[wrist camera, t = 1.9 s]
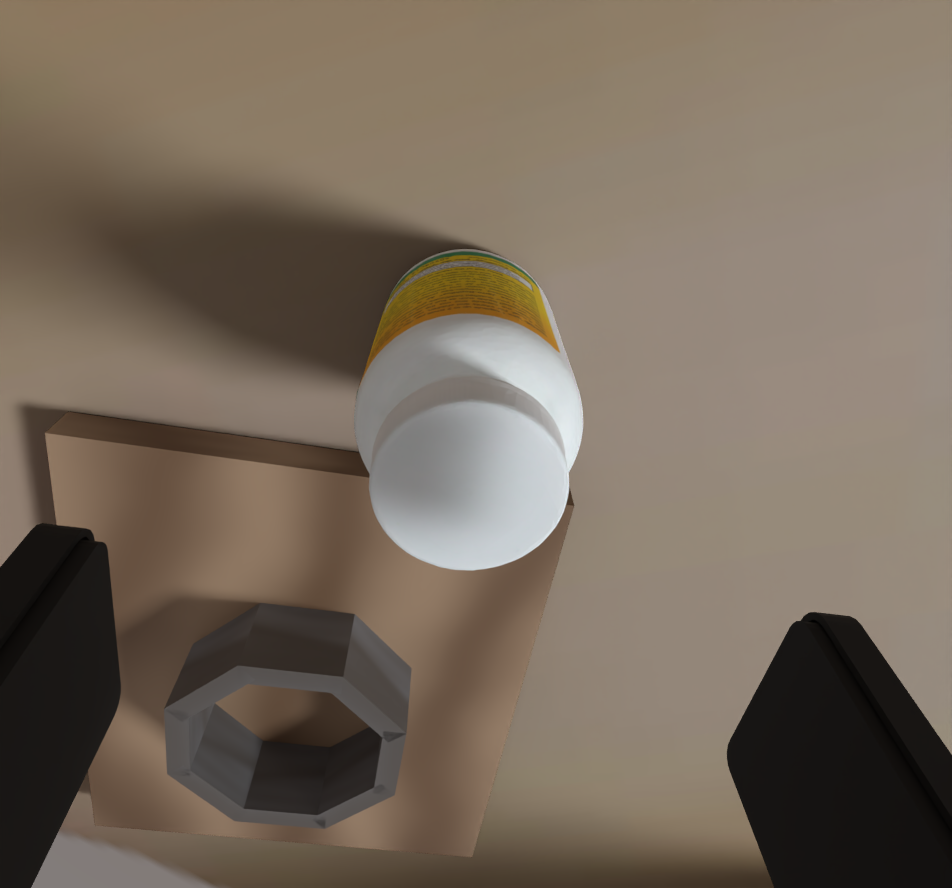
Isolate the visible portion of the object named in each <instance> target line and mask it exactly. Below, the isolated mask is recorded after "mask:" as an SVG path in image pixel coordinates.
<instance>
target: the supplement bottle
mask: <svg viewBox="0 0 952 888" xmlns="http://www.w3.org/2000/svg"><path fill="white" fill-rule="evenodd" d="M354 428H355V437H356V441H357V446H358V449H359V452H360V455H361V458H362V460H363V462H364V464H365V466H366V468H367V470H368V472H369V474H370V476H369V492H370V498H371V503H372V507H373V510H374V513H375V516H376V518H377V520H378V522H379V523H380V525H381V527H382V528H383V530H384V531H385V532H386V534H387V535H388V536H389V537H390V538H391V539H392V540H393V541H394V542H395V543H396V544H397V545H398V546H399V547H400V548H402V549H403V550H404V551H405V552H407V553H408V554H410V555H412V556H413V557H415V558H417V559H419V560H422V561H424V562H427V563H429V564H432V565H435V566H438V567H442V568H447V569H452V570H472V571H473V570H480V569H488V568H493V567H497V566H501V565H504V564H507V563H509V562H512V561H515V560H517V559H519V558H521V557H523V556H524V555H526V554H528V553H529V552H531V551H532V550H534V549H535V548H536V547H538V546H539V545H540V544H541V543H542V542H543V541H544V540H545V539H546V538H547V537H548V536H549V535H550V534H551V532H552V531H553V530H554V529H555V527H556V526H557V524H558V522H559V521H560V519H561V517H562V514H563V512H564V509H565V506H566V503H567V499H568V493H569V474H568V473H569V471H570V469H571V467H572V465H573V463H574V461H575V459H576V456H577V453H578V450H579V447H580V443H581V438H582V432H583V409H582V402H581V397H580V393H579V390H578V386H577V383H576V380H575V377H574V374H573V371H572V368H571V366H570V363H569V360H568V357H567V354H566V351H565V349H564V346H563V343H562V340H561V337H560V334H559V331H558V328H557V325H556V322H555V319H554V315H553V312H552V310H551V308H550V305H549V303H548V301H547V299H546V296H545V294H544V293H543V291H542V289H541V288H540V286H539V285H538V284H537V283H536V281H535V280H534V279H533V278H532V277H531V276H530V275H529V274H528V273H527V272H526V271H525V270H524V269H523V268H521V267H520V266H519V265H517V264H515V263H514V262H512V261H510V260H508V259H506V258H504V257H501V256H498V255H496V254H493V253H490V252H486V251H481V250H475V249H457V250H450V251H446V252H442V253H438V254H436V255H433V256H430V257H428V258H426V259H424V260H423V261H421V262H419V263H418V264H416V265H415V266H413V267H412V268H411V269H410V270H409V271H407V272H406V273H405V274H404V275H403V276H402V278H401V279H400V280H399V282H398V283H397V284H396V286H395V287H394V289H393V291H392V292H391V294H390V296H389V299H388V301H387V303H386V306H385V308H384V311H383V314H382V317H381V321H380V324H379V327H378V330H377V333H376V336H375V339H374V342H373V345H372V348H371V352H370V355H369V358H368V361H367V365H366V368H365V371H364V374H363V377H362V379H361V382H360V385H359V388H358V391H357V396H356V404H355V413H354Z"/></svg>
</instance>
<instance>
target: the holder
mask: <svg viewBox="0 0 952 888" xmlns="http://www.w3.org/2000/svg"><path fill="white" fill-rule="evenodd" d="M45 438H46V446H47V454H48V461H49V469H50V477H51V485H52V493H53V501H54V509H55V516H56V524H57V525H61V526H70V527H78V528H87V529H90V530H91V531H92V533H93V535H94V539H95V541H99V542H104V543H105V544H106V545H107V549H108V557H109V567H110V578H111V588H112V598H113V608H114V619H115V629H116V639H117V649H118V660H119V670H120V680H121V694H120V700H119V705H118V708H117V711H116V713H115V716H114V718H113V720H112V722H111V724H110V726H109V728H108V730H107V732H106V735H105V737H104V739H103V741H102V743H101V745H100V747H99V749H98V751H97V753H96V755H95V757H94V759H93V761H92V763H91V765H90V767H89V769H88V775H89V783H90V791H91V799H92V807H93V815H94V823H95V825H96V826H108V827H119V828H131V829H143V830H155V831H167V832H178V833H190V834H202V835H214V836H226V837H238V838H249V839H261V840H273V841H285V842H297V843H308V844H320V845H332V846H344V847H356V848H368V849H379V850H391V851H403V852H415V853H427V854H439V855H450V856H462V857H472V856H473V852H474V849H475V845H476V842H477V839H478V835H479V832H480V828H481V825H482V821H483V818H484V814H485V811H486V808H487V804H488V801H489V797H490V794H491V790H492V787H493V784H494V780H495V777H496V773H497V770H498V766H499V763H500V759H501V756H502V753H503V749H504V746H505V742H506V739H507V735H508V732H509V728H510V725H511V722H512V718H513V715H514V711H515V708H516V704H517V701H518V697H519V694H520V691H521V687H522V684H523V680H524V677H525V673H526V670H527V666H528V663H529V660H530V656H531V653H532V649H533V646H534V642H535V639H536V635H537V632H538V629H539V625H540V622H541V618H542V615H543V611H544V608H545V604H546V601H547V598H548V594H549V591H550V587H551V584H552V580H553V577H554V573H555V570H556V567H557V563H558V560H559V556H560V553H561V549H562V546H563V542H564V539H565V536H566V532H567V529H568V525H569V522H570V518H571V515H572V511H573V508H574V503H573V499H572V495H571V491H570V488H569V493H568V499H567V503H566V506H565V509H564V512H563V514H562V517H561V519H560V521H559V522H558V524H557V526H556V527H555V529H554V530H553V531H552V532H551V534H550V535H549V536H548V537H547V538H546V539H545V540H544V541H543V542H542V543H541V544H540V545H539V546H538V547H536V548H535V549H534V550H532V551H531V552H529V553H528V554H526V555H524V556H523V557H521V558H519V559H517V560H515V561H512V562H509V563H507V564H504V565H501V566H497V567H493V568H488V569H480V570H473V571H472V570H452V569H447V568H442V567H438V566H435V565H432V564H429V563H427V562H424V561H422V560H419V559H417V558H415V557H413V556H412V555H410V554H408V553H407V552H405V551H404V550H403V549H402V548H400V547H399V546H398V545H397V544H396V543H395V542H394V541H393V540H392V539H391V538H390V537H389V536H388V535H387V534H386V532H385V531H384V530H383V528H382V527H381V525H380V523H379V522H378V520H377V518H376V516H375V513H374V510H373V507H372V503H371V498H370V492H369V476H370V474H369V472H368V470H367V468H366V466H365V464H364V462H363V460H362V458H361V455H360V453H357V452H350V451H343V450H336V449H329V448H322V447H315V446H308V445H301V444H294V443H287V442H279V441H272V440H265V439H258V438H251V437H244V436H237V435H230V434H223V433H216V432H209V431H201V430H194V429H187V428H180V427H173V426H166V425H159V424H152V423H145V422H138V421H131V420H124V419H116V418H109V417H102V416H95V415H88V414H81V413H74V412H67V413H66V414H65V415H64V416H63V417H62V418H61V419H59V420H58V421H57V422H56V423H55V424H54V425H53V426H52V427H51V428H50V429H49V430H48V431H47V432H45Z"/></svg>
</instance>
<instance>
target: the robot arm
mask: <svg viewBox="0 0 952 888" xmlns="http://www.w3.org/2000/svg"><path fill="white" fill-rule="evenodd" d="M120 694H121V680H120V670H119V660H118V649H117V639H116V629H115V619H114V608H113V598H112V588H111V578H110V567H109V557H108V549H107V545H106V544H105V543H104V542H99V541H95V539H94V535H93V533H92V531H91V530H90V529H87V528H78V527H70V526H61V525H52V524H44V523H42V524H39V525H36V526H35V527H34V528H33V529H32V530H31V531H30V532H29V534H28V535H27V536H26V537H25V538H24V540H23V541H22V542H21V543H20V544H19V546H18V547H17V548H16V549H15V550H14V552H13V553H12V554H11V555H10V556H9V558H8V559H7V560H6V561H5V562H4V563H3V565H2V566H1V567H0V888H31V887H32V885H33V882H34V880H35V878H36V876H37V874H38V872H39V870H40V868H41V866H42V864H43V862H44V860H45V858H46V855H47V854H48V851H49V850H50V848H51V845H52V843H53V841H54V839H55V837H56V835H57V833H58V831H59V829H60V827H61V825H62V823H63V821H64V819H65V817H66V815H67V813H68V811H69V809H70V806H71V804H72V802H73V800H74V798H75V796H76V794H77V792H78V790H79V788H80V786H81V784H82V782H83V780H84V778H85V776H86V774H87V772H88V769H89V767H90V765H91V763H92V761H93V759H94V757H95V755H96V753H97V751H98V749H99V747H100V745H101V743H102V741H103V739H104V737H105V735H106V732H107V730H108V728H109V726H110V724H111V722H112V720H113V718H114V716H115V713H116V711H117V708H118V705H119V700H120ZM727 761H728V766H729V770H730V773H731V775H732V778H733V780H734V783H735V786H736V788H737V791H738V794H739V796H740V799H741V801H742V804H743V807H744V809H745V812H746V814H747V817H748V820H749V822H750V825H751V828H752V830H753V833H754V835H755V838H756V841H757V843H758V846H759V849H760V851H761V854H762V856H763V859H764V862H765V864H766V867H767V870H768V872H769V875H770V877H771V880H772V883H773V885H774V888H952V755H951V753H950V752H949V750H948V749H947V747H946V746H945V745H944V743H943V742H942V740H941V739H940V737H939V736H938V735H937V733H936V732H935V730H934V729H933V727H932V726H931V725H930V723H929V722H928V720H927V719H926V717H925V716H924V714H923V713H922V712H921V710H920V709H919V707H918V706H917V704H916V703H915V702H914V700H913V699H912V697H911V696H910V694H909V693H908V691H907V690H906V689H905V687H904V686H903V684H902V683H901V681H900V680H899V679H898V677H897V676H896V674H895V673H894V671H893V670H892V669H891V667H890V666H889V664H888V663H887V661H886V660H885V658H884V657H883V656H882V654H881V653H880V651H879V650H878V648H877V647H876V646H875V644H874V643H873V641H872V640H871V638H870V637H869V635H868V634H867V633H866V631H865V630H864V628H863V627H862V625H861V624H860V623H859V622H858V621H857V620H856V619H854V618H852V617H850V616H843V615H834V614H825V613H817V612H811V613H808V614H806V615H805V616H804V617H803V618H802V620H801V621H796V622H795V623H793V624H792V625H791V627H790V628H789V630H788V632H787V634H786V636H785V638H784V640H783V642H782V643H781V645H780V647H779V649H778V651H777V653H776V655H775V657H774V658H773V660H772V662H771V664H770V666H769V668H768V670H767V672H766V673H765V675H764V677H763V679H762V681H761V683H760V685H759V687H758V689H757V690H756V692H755V694H754V696H753V698H752V700H751V702H750V704H749V705H748V707H747V709H746V711H745V713H744V715H743V717H742V719H741V721H740V722H739V724H738V726H737V728H736V730H735V732H734V734H733V736H732V737H731V739H730V742H729V744H728V749H727Z"/></svg>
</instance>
